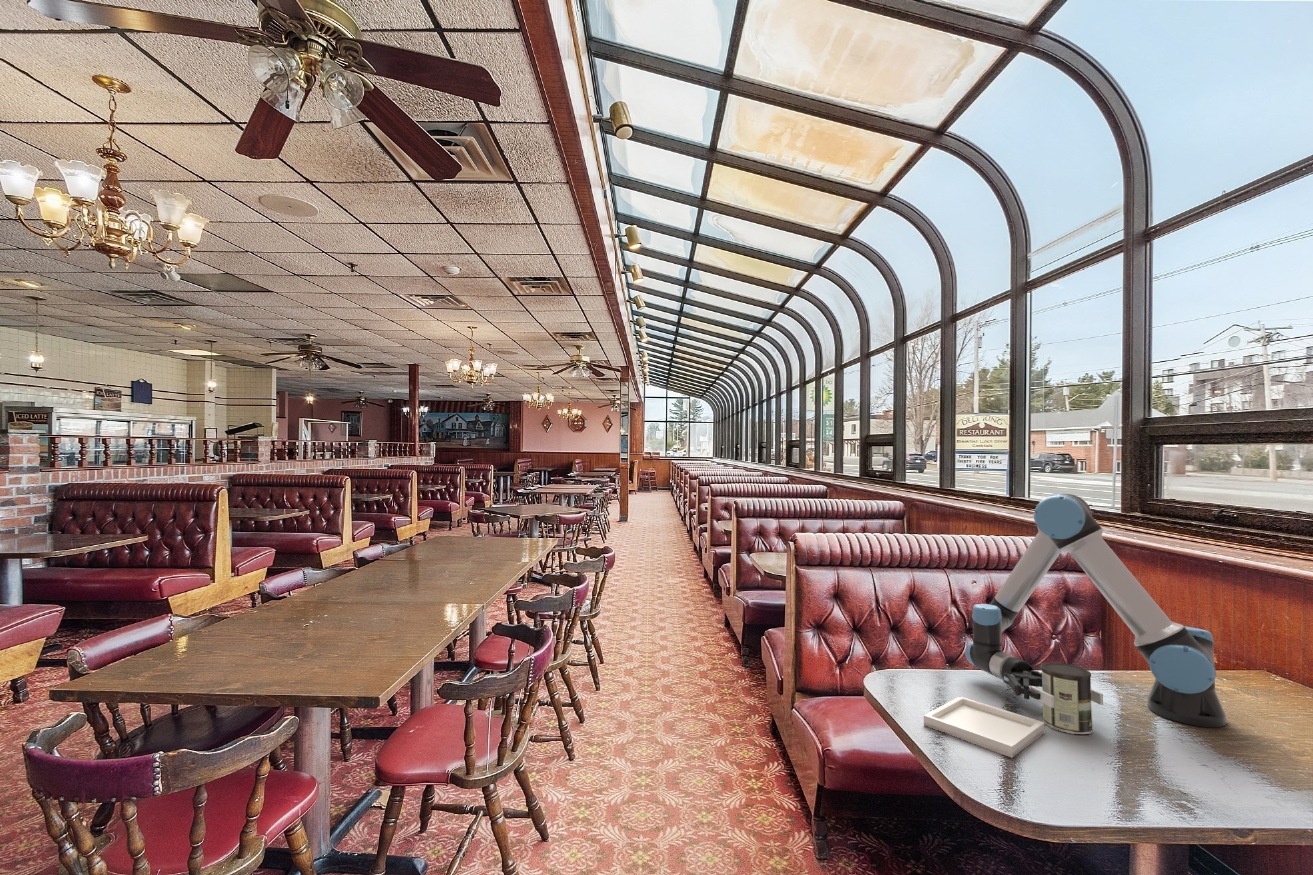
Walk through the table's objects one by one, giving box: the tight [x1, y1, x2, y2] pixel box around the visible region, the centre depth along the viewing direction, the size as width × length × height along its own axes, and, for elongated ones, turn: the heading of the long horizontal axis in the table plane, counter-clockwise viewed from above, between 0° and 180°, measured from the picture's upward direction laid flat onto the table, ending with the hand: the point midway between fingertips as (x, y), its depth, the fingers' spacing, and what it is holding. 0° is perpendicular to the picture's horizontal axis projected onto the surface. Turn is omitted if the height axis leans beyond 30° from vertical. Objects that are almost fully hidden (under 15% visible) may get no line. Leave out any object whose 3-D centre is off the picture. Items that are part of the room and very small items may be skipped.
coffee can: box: [1040, 662, 1093, 735], centre depth 144 cm, size 10×10×14 cm
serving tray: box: [923, 695, 1046, 759], centre depth 141 cm, size 20×20×2 cm
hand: (1077, 700), depth 141 cm, fingers open, 13 cm apart
